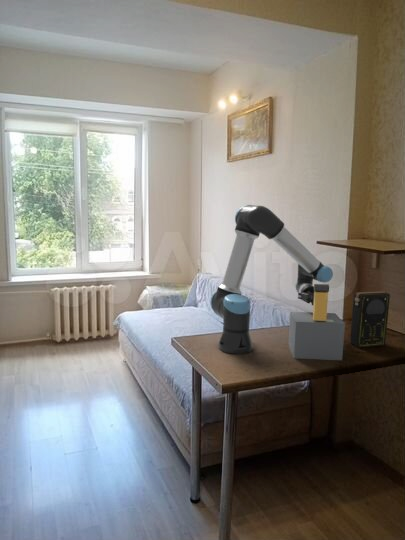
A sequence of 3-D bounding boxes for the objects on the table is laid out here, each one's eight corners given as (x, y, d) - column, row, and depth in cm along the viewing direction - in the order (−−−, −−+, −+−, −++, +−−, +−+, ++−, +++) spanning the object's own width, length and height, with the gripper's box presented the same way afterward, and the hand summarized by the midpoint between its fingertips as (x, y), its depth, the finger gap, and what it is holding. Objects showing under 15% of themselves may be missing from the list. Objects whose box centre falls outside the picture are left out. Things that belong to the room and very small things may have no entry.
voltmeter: (358, 348, 191) (362, 295, 187) (347, 342, 200) (351, 291, 196) (387, 346, 196) (392, 293, 191) (375, 340, 204) (379, 289, 200)
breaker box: (293, 358, 178) (296, 321, 176) (288, 345, 194) (290, 311, 191) (342, 360, 177) (345, 323, 175) (332, 347, 193) (335, 312, 190)
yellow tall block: (313, 320, 176) (315, 284, 174) (311, 318, 179) (314, 283, 177) (326, 321, 176) (329, 285, 173) (325, 318, 179) (327, 283, 176)
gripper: (321, 300, 202) (334, 314, 179) (294, 299, 202) (303, 313, 179) (322, 285, 201) (336, 296, 177) (295, 284, 201) (304, 295, 178)
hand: (320, 304), depth 178 cm, fingers closed
